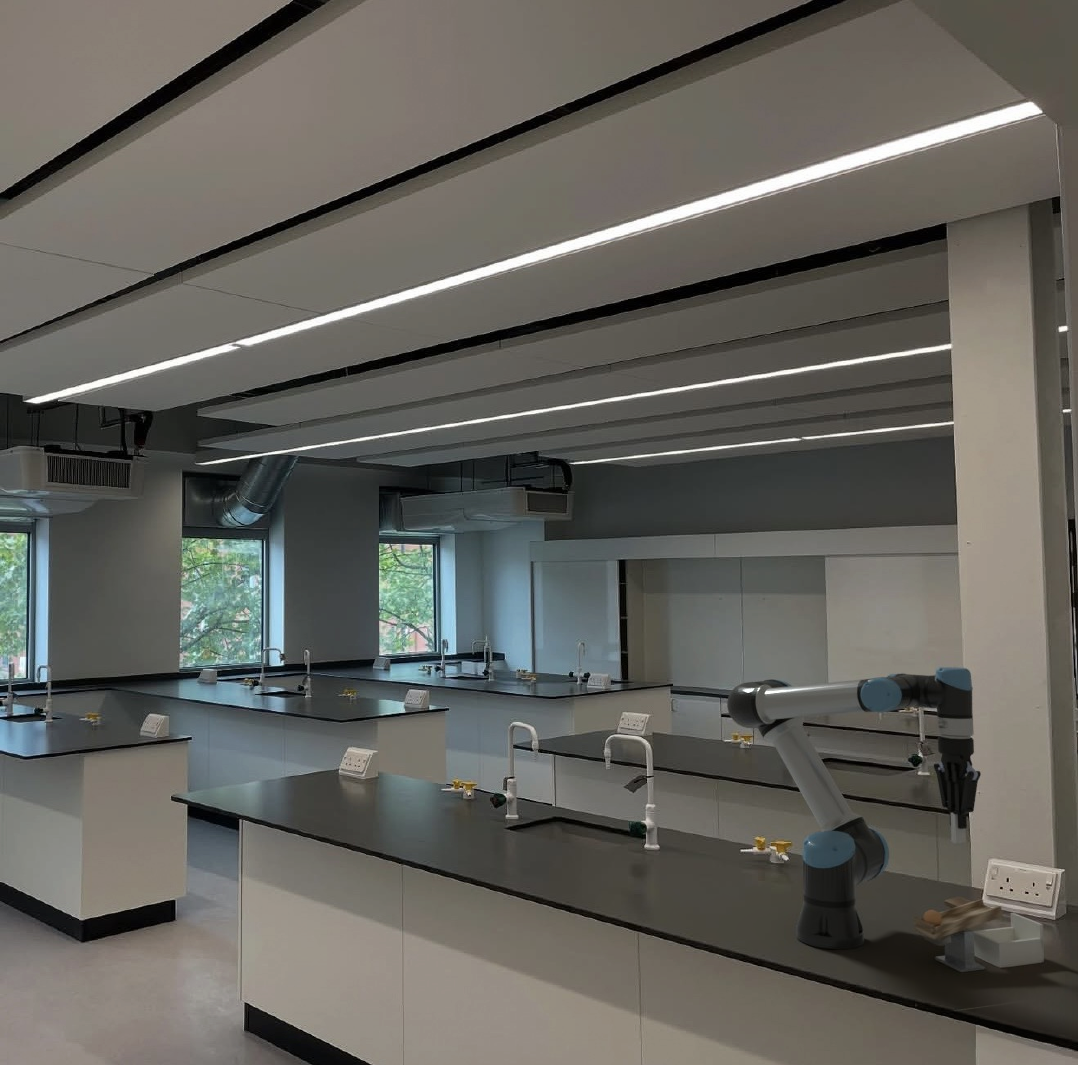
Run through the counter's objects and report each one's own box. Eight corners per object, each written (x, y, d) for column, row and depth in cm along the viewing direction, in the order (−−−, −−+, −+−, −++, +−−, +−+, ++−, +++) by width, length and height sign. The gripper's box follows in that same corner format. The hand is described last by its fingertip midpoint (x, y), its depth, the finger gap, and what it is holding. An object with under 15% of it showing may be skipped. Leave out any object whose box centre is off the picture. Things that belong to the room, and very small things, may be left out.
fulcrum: (961, 972, 215) (960, 934, 215) (935, 959, 222) (934, 922, 223) (984, 969, 216) (983, 931, 217) (958, 956, 224) (957, 920, 225)
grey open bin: (971, 954, 225) (970, 917, 226) (1014, 949, 229) (1013, 912, 229) (999, 967, 217) (998, 929, 218) (1044, 962, 221) (1042, 924, 221)
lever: (935, 949, 214) (931, 926, 214) (896, 929, 227) (892, 908, 227) (1004, 925, 220) (1000, 903, 220) (962, 908, 232) (958, 887, 232)
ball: (922, 927, 219) (917, 911, 219) (935, 921, 220) (931, 905, 220) (933, 932, 216) (929, 916, 216) (947, 926, 217) (942, 910, 217)
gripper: (922, 733, 237) (925, 837, 235) (961, 740, 224) (964, 850, 222) (950, 732, 239) (953, 835, 237) (989, 739, 226) (993, 847, 225)
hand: (958, 842), depth 230 cm, fingers closed
